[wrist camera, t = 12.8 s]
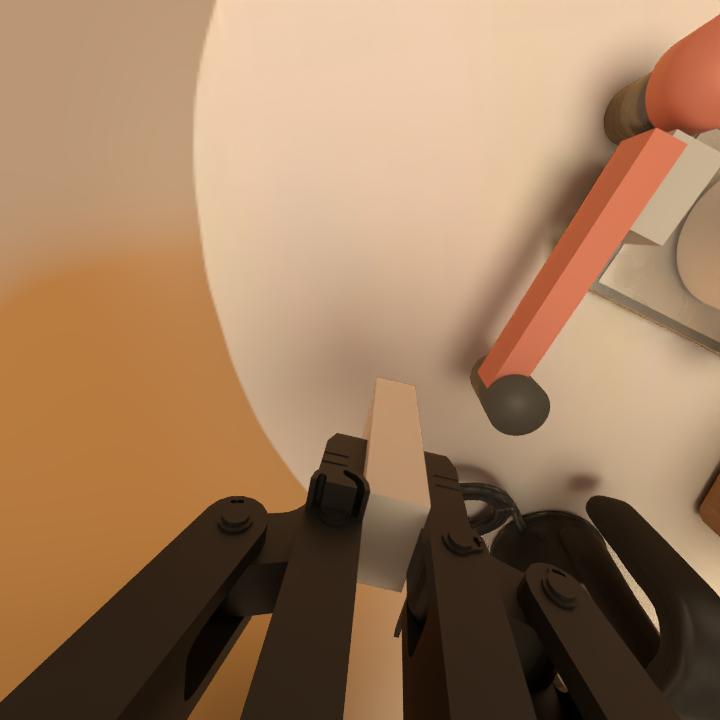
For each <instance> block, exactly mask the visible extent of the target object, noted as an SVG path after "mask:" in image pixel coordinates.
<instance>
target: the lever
mask: <svg viewBox="0 0 720 720" xmlns="http://www.w3.org/2000/svg"><path fill="white" fill-rule="evenodd" d="M645 105H646V111H647V114H648V117H649V119H650V121H651V123H652V124H653V126H654V127H655V128H654V129H652V130H649V131H646V132H644V133H641V134H639V135H636V136H634V137H631V138H628V139H626V140H623V141H621V143H620V144H619V146H618V147H617V149H616V151H615V152H614V154H613V155H612V157H611V159H610V160H609V162H608V163H607V165H606V167H605V168H604V170H603V171H602V173H601V175H600V176H599V178H598V179H597V181H596V183H595V184H594V186H593V187H592V189H591V191H590V192H589V194H588V195H587V197H586V199H585V200H584V202H583V203H582V205H581V207H580V208H579V210H578V211H577V213H576V215H575V216H574V218H573V219H572V221H571V223H570V224H569V226H568V227H567V229H566V231H565V232H564V234H563V235H562V237H561V239H560V240H559V242H558V243H557V245H556V247H555V248H554V250H553V251H552V253H551V255H550V256H549V258H548V259H547V261H546V263H545V264H544V266H543V267H542V269H541V271H540V272H539V274H538V275H537V277H536V279H535V280H534V282H533V283H532V285H531V287H530V288H529V290H528V291H527V293H526V295H525V296H524V298H523V299H522V301H521V303H520V304H519V306H518V307H517V309H516V311H515V312H514V314H513V315H512V317H511V319H510V320H509V322H508V324H507V325H506V327H505V328H504V330H503V332H502V333H501V335H500V336H499V338H498V340H497V341H496V343H495V344H494V346H493V348H492V349H491V351H490V352H489V354H488V355H486V356H484V357H482V358H481V359H480V360H478V361H477V362H476V364H475V365H474V367H473V369H472V371H471V377H470V379H471V384H472V386H473V388H474V390H475V392H476V394H477V396H478V398H479V400H480V402H481V404H482V406H483V408H484V410H485V412H486V414H487V416H488V418H489V420H490V422H491V424H492V425H493V426H494V427H495V428H496V429H497V430H498V431H500V432H502V433H504V434H507V435H513V436H519V435H525V434H528V433H531V432H533V431H535V430H536V429H538V428H539V427H540V426H541V425H542V424H543V423H544V422H545V420H546V419H547V417H548V415H549V411H550V401H549V398H548V396H547V394H546V393H545V391H544V390H543V389H542V388H541V387H540V386H539V385H538V384H537V383H536V382H535V381H534V380H533V379H532V377H531V376H530V375H531V373H532V372H533V370H534V369H535V367H536V366H537V364H538V363H539V361H540V360H541V358H542V357H543V356H544V354H545V353H546V351H547V350H548V348H549V347H550V345H551V344H552V342H553V341H554V339H555V338H556V337H557V335H558V334H559V332H560V331H561V329H562V328H563V326H564V325H565V323H566V322H567V320H568V319H569V318H570V316H571V315H572V313H573V312H574V310H575V309H576V307H577V306H578V304H579V303H580V301H581V300H582V299H583V297H584V296H585V294H586V293H587V291H588V290H589V288H590V287H591V285H592V284H593V282H594V281H595V279H596V278H597V277H598V275H599V274H600V272H601V271H602V269H603V268H604V266H605V265H606V263H607V262H608V260H609V259H610V258H611V256H612V255H613V253H614V252H615V250H616V249H617V247H618V246H619V244H635V245H652V246H663V245H664V243H665V242H666V241H667V239H668V238H669V236H670V235H671V234H672V232H673V231H674V230H675V228H676V227H677V225H678V224H679V223H680V221H681V220H682V219H683V217H684V216H685V214H686V213H687V212H688V210H689V209H690V207H691V206H692V205H693V203H694V202H695V201H696V199H697V198H698V196H699V195H700V194H701V192H702V191H703V190H704V188H705V187H706V185H707V184H708V183H709V181H710V180H711V179H712V177H713V176H714V174H715V173H716V172H717V170H718V169H719V168H720V152H719V151H717V150H715V149H713V148H711V147H710V146H708V145H706V144H704V143H702V142H700V141H699V140H697V139H695V138H693V137H691V136H694V135H698V134H701V133H704V132H707V131H710V130H714V129H717V128H720V15H718V16H717V17H715V18H714V19H712V20H711V21H709V22H708V23H706V24H705V25H703V26H701V27H700V28H698V29H697V30H695V31H694V32H692V33H691V34H689V35H688V36H686V37H685V38H683V39H682V40H680V41H679V42H677V43H676V44H675V45H673V46H672V47H671V48H670V49H669V50H668V51H667V52H666V53H665V54H664V55H663V56H662V57H661V59H660V60H659V61H658V63H657V64H656V66H655V68H654V70H653V71H652V73H651V76H650V78H649V81H648V84H647V89H646V95H645Z"/></svg>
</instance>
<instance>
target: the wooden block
mask: <svg viewBox="0 0 720 720" xmlns="http://www.w3.org/2000/svg"><path fill="white" fill-rule="evenodd" d="M700 516H701V518H702V520H703V521H704V522H705V523H706V524H707V525H708V526H709V527H710V528H711V529H712V530H713V531H714V532H715V533H716V534H717V535H718V536H719V537H720V474H719V476H718V477H717V479H716V481H715V482H714V484H713V486H712V487H711V489H710V491H709V492H708V494H707V496H706V497H705V499H704V501H703V503H702V504H701V506H700Z"/></svg>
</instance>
